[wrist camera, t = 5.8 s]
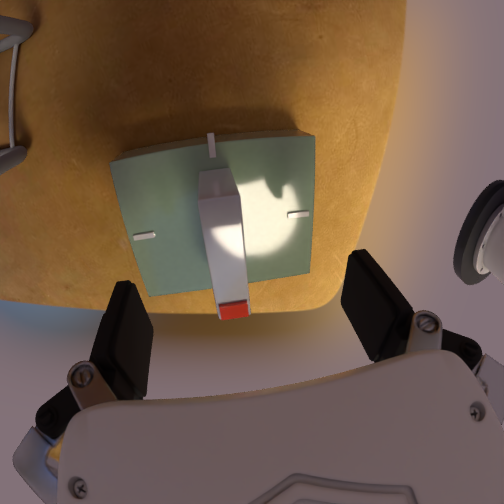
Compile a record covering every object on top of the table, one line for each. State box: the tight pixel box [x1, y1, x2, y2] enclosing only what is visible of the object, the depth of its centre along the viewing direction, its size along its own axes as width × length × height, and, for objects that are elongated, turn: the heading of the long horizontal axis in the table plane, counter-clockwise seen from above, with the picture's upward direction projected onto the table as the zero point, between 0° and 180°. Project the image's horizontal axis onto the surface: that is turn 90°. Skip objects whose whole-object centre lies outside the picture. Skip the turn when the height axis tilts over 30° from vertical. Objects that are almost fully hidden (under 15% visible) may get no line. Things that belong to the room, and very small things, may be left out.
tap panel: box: [109, 129, 315, 297], centre depth 18 cm, size 12×11×3 cm
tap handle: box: [197, 168, 251, 320], centre depth 15 cm, size 7×2×5 cm, turn 3°
